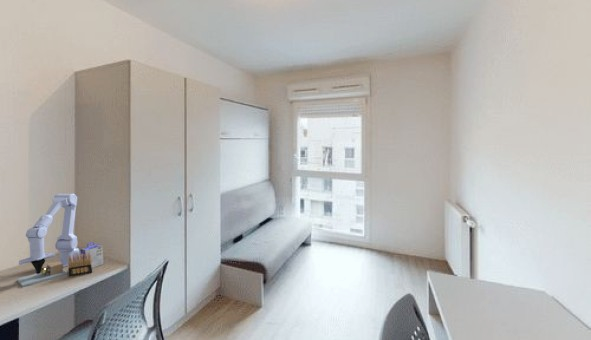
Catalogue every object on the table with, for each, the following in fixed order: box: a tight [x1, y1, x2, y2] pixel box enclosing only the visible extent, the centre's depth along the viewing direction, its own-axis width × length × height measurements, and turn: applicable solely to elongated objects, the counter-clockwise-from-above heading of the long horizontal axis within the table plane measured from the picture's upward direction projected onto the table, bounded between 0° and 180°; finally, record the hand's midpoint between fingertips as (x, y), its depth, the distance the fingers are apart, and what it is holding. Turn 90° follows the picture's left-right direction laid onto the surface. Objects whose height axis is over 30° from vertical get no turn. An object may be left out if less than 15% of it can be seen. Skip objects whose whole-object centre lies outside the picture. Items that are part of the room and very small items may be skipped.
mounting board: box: [17, 260, 68, 288], centre depth 151 cm, size 18×12×6 cm, turn 144°
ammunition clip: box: [67, 253, 93, 278], centre depth 156 cm, size 11×2×12 cm, turn 121°
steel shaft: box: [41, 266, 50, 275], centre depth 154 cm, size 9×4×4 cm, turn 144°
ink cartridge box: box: [80, 242, 104, 269], centre depth 166 cm, size 10×6×14 cm, turn 155°
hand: (38, 273), depth 149 cm, fingers closed
